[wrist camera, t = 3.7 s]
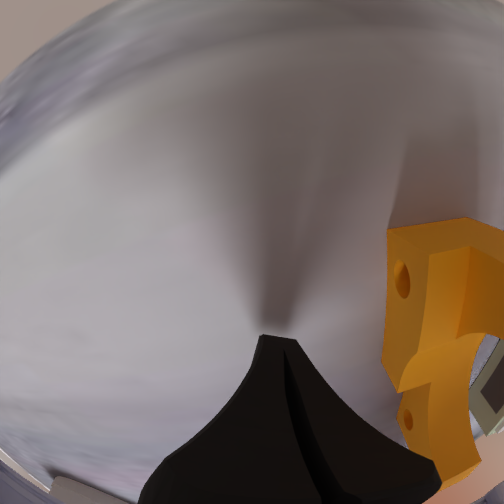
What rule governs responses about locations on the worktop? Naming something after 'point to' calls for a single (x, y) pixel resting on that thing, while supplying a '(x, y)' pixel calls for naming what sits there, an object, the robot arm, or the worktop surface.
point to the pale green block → (489, 393)
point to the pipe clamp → (441, 332)
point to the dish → (79, 493)
